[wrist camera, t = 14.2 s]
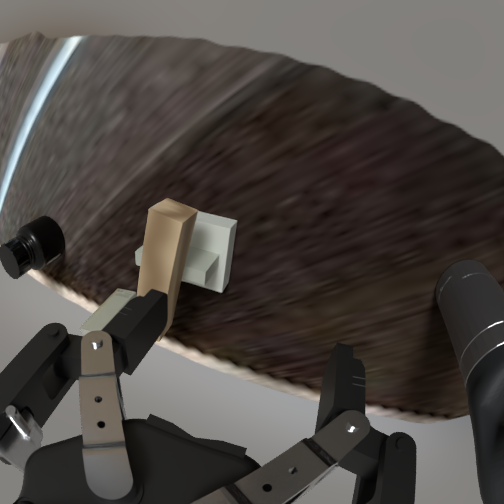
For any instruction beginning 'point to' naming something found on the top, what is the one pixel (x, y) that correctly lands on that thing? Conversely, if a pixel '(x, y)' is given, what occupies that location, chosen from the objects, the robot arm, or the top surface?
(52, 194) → the top surface
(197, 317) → the top surface
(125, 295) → the skincare box
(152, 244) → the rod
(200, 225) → the fulcrum
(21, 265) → the ink bottle
